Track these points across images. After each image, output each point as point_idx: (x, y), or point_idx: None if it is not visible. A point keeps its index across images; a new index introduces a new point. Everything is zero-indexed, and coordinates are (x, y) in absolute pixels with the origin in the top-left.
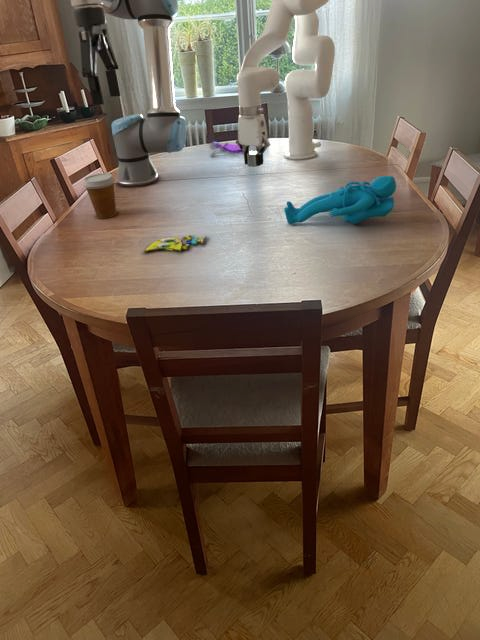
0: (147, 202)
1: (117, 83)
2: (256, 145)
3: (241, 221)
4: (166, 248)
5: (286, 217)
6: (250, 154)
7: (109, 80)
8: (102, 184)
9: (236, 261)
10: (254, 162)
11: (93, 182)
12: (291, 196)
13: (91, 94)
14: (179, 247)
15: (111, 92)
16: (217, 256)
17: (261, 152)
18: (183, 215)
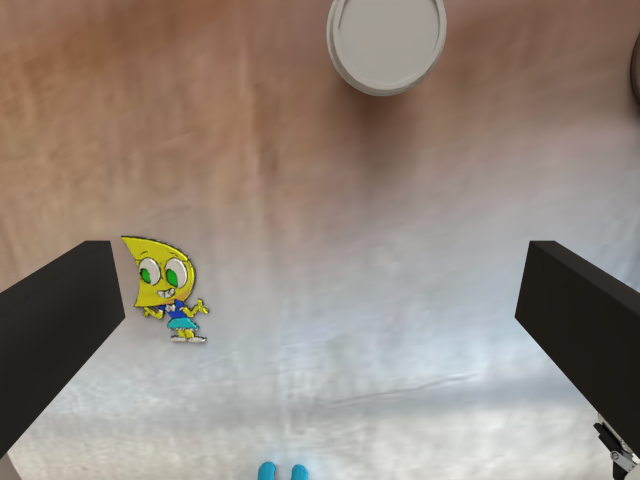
0: (458, 150)
1: (580, 384)
2: (629, 472)
3: (291, 388)
4: (140, 278)
5: (259, 472)
6: None
7: (620, 336)
8: (338, 67)
9: (112, 397)
10: (605, 424)
11: (331, 32)
12: (421, 461)
13: (30, 280)
14: (144, 303)
15: (544, 270)
16: (127, 367)
17: (614, 462)
18: (339, 271)
